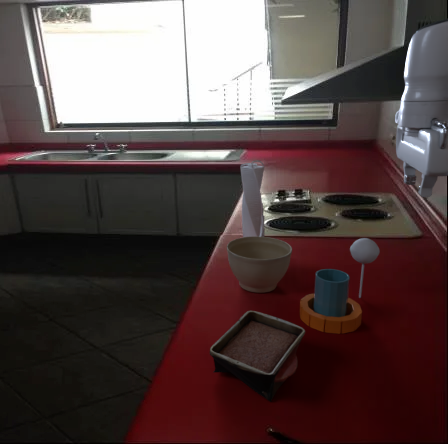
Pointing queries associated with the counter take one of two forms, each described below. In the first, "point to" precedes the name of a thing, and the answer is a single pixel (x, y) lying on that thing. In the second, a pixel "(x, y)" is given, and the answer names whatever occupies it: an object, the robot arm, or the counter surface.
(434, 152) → the robot arm
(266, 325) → the baking dish
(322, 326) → the ring
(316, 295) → the cup
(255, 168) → the skyscraper
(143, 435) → the counter surface
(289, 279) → the counter surface
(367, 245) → the lollipop
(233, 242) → the planter bowl
